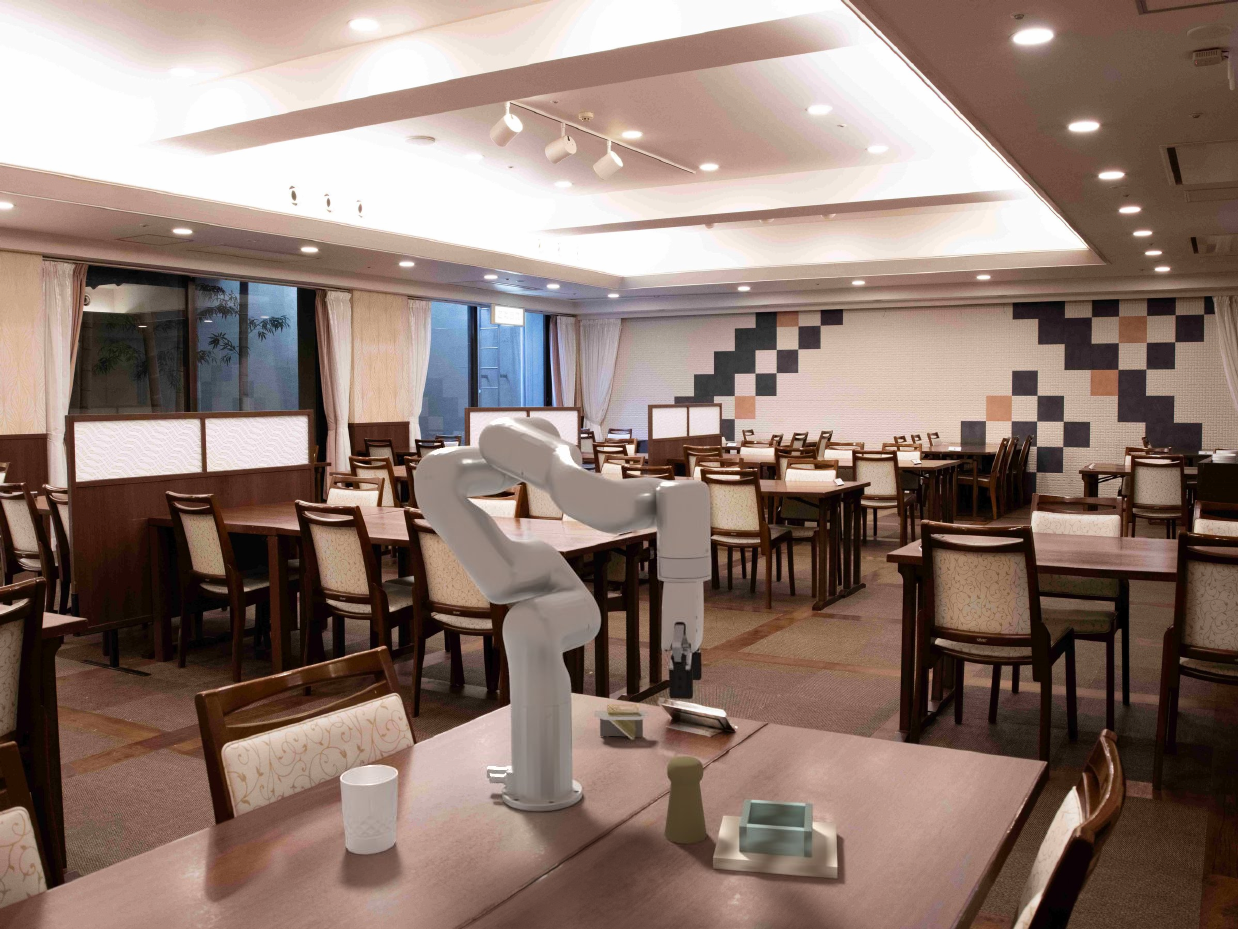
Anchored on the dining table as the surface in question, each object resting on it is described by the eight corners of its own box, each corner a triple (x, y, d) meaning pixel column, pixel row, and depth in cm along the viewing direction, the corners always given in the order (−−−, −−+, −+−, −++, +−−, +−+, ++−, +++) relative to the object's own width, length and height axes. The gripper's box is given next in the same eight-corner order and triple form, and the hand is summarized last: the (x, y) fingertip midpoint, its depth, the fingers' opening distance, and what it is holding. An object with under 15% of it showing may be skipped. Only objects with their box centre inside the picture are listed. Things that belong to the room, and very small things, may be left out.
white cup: (341, 860, 136) (340, 787, 136) (341, 836, 144) (340, 768, 143) (401, 852, 138) (399, 781, 138) (398, 830, 146) (396, 762, 145)
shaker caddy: (713, 868, 132) (712, 831, 132) (723, 825, 146) (723, 791, 146) (837, 878, 129) (837, 840, 129) (836, 833, 143) (836, 799, 143)
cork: (704, 845, 140) (703, 767, 139) (661, 842, 141) (660, 764, 140) (709, 827, 146) (708, 752, 145) (667, 824, 147) (667, 750, 146)
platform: (671, 751, 180) (671, 715, 179) (570, 751, 180) (570, 715, 180) (669, 730, 192) (668, 696, 191) (574, 730, 192) (574, 696, 192)
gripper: (667, 559, 150) (668, 672, 151) (647, 577, 133) (649, 705, 134) (717, 559, 149) (718, 674, 150) (703, 578, 132) (705, 707, 133)
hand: (686, 688), depth 142 cm, fingers open, 9 cm apart
